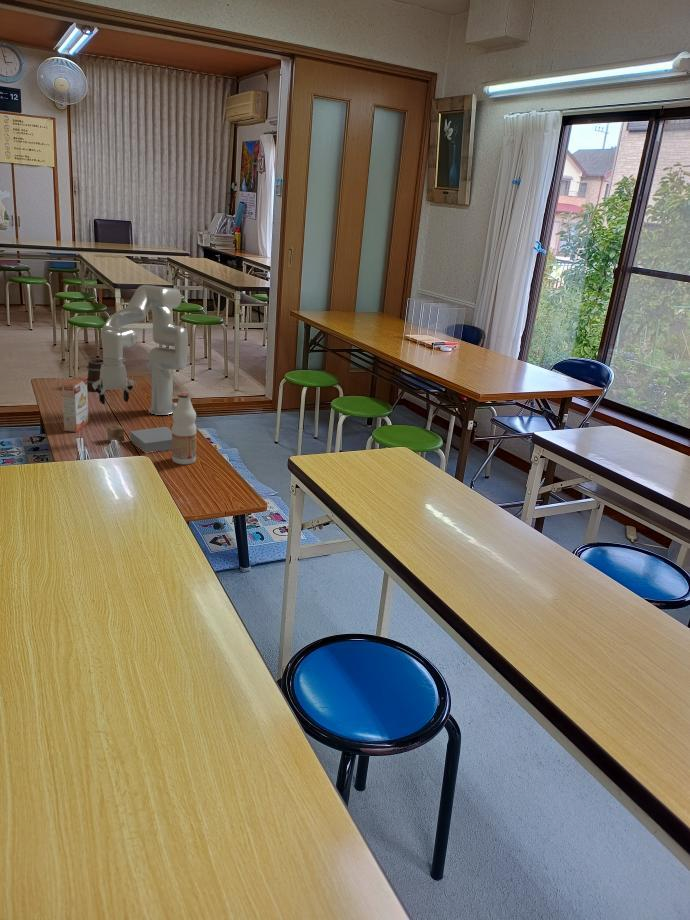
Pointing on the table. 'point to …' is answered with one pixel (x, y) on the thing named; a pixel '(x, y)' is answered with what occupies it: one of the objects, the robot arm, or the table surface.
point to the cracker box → (75, 404)
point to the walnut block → (116, 433)
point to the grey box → (152, 439)
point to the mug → (94, 373)
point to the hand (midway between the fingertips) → (114, 402)
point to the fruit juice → (184, 431)
